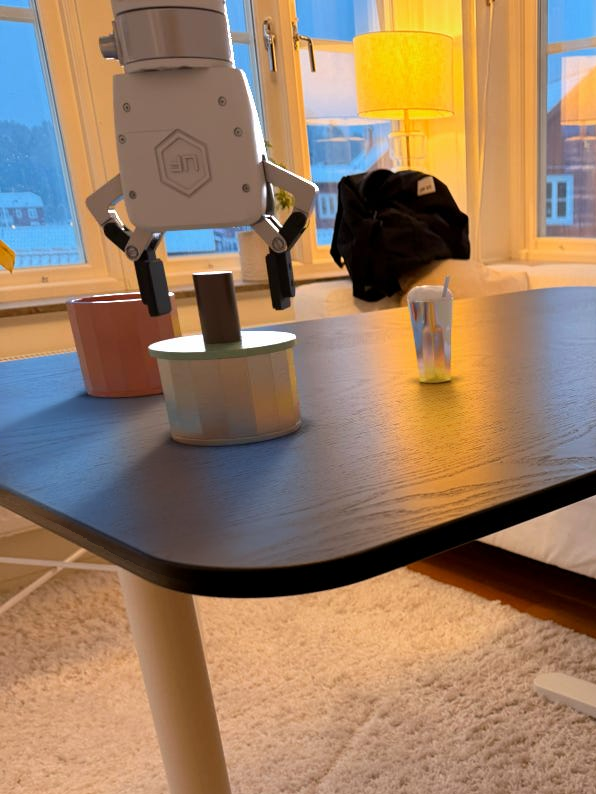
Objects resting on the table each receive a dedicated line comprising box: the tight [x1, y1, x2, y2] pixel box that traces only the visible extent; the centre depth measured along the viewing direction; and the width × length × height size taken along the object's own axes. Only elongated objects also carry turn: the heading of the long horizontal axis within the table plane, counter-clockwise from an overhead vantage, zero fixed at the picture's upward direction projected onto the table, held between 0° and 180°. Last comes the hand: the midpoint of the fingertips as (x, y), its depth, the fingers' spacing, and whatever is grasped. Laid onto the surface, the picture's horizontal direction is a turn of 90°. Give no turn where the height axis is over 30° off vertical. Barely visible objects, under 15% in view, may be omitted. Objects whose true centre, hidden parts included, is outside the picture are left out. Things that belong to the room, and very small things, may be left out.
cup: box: [65, 292, 183, 398], centre depth 92 cm, size 10×10×9 cm
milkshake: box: [406, 275, 454, 384], centre depth 88 cm, size 4×5×10 cm
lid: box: [148, 270, 298, 360], centre depth 69 cm, size 11×11×6 cm
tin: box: [157, 347, 302, 447], centre depth 72 cm, size 10×10×6 cm
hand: (221, 311), depth 69 cm, fingers open, 9 cm apart
